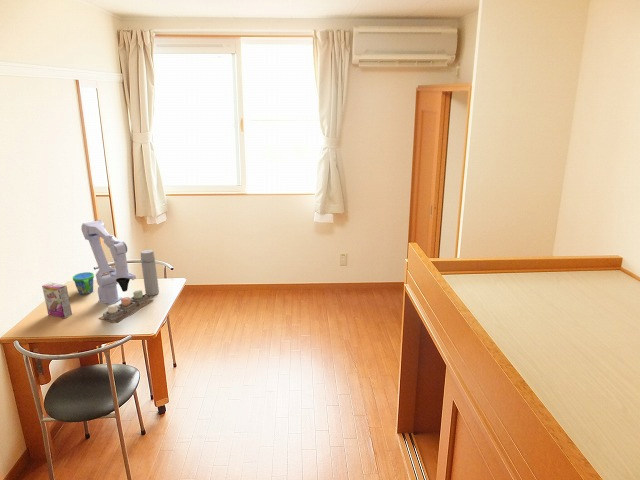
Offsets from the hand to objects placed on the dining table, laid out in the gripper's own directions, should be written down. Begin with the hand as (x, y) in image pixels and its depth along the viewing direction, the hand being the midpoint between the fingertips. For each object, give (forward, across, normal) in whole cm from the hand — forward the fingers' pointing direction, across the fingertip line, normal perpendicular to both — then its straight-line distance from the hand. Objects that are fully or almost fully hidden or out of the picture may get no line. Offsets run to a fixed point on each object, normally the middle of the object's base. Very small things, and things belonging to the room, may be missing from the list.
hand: (125, 290), depth 231 cm
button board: (+10, 0, 0) cm, 10 cm away
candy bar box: (+11, -28, -16) cm, 34 cm away
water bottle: (+11, -2, +21) cm, 23 cm away
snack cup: (+11, -38, +10) cm, 41 cm away
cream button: (+8, 0, -10) cm, 13 cm away
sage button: (+8, 0, +8) cm, 12 cm away
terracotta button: (+8, 0, -1) cm, 8 cm away
